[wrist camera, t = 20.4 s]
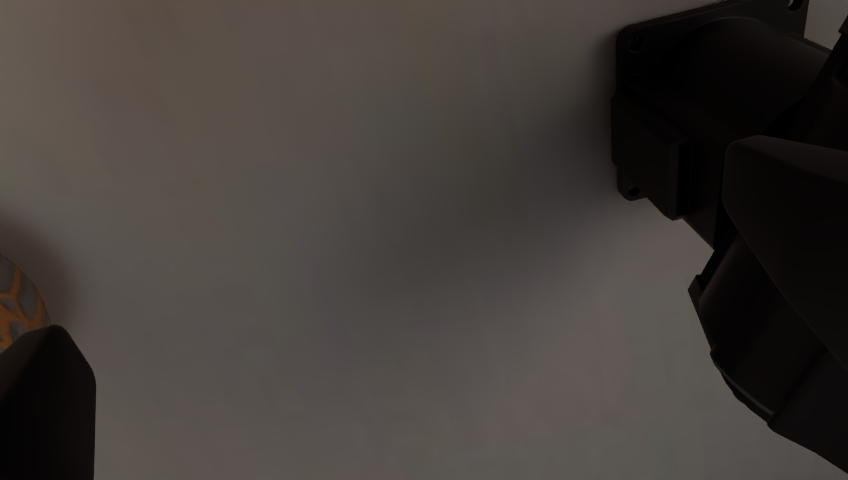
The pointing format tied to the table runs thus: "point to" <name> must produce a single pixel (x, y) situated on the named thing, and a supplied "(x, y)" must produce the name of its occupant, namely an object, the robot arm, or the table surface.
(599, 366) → the table surface
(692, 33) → the robot arm
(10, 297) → the vase
